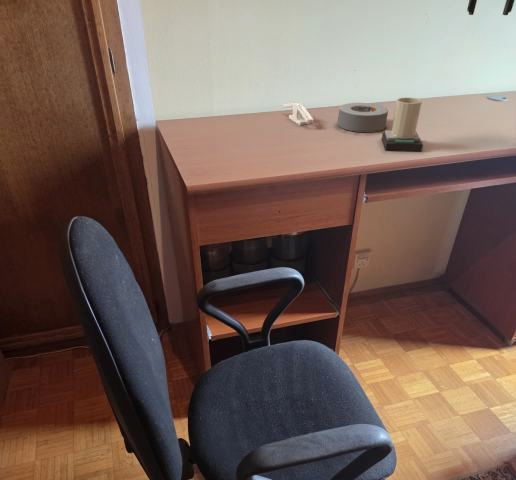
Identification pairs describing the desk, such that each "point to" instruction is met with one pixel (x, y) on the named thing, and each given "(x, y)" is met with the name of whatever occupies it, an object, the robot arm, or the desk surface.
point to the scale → (401, 143)
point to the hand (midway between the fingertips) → (487, 14)
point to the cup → (406, 117)
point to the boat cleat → (299, 114)
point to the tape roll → (362, 117)
